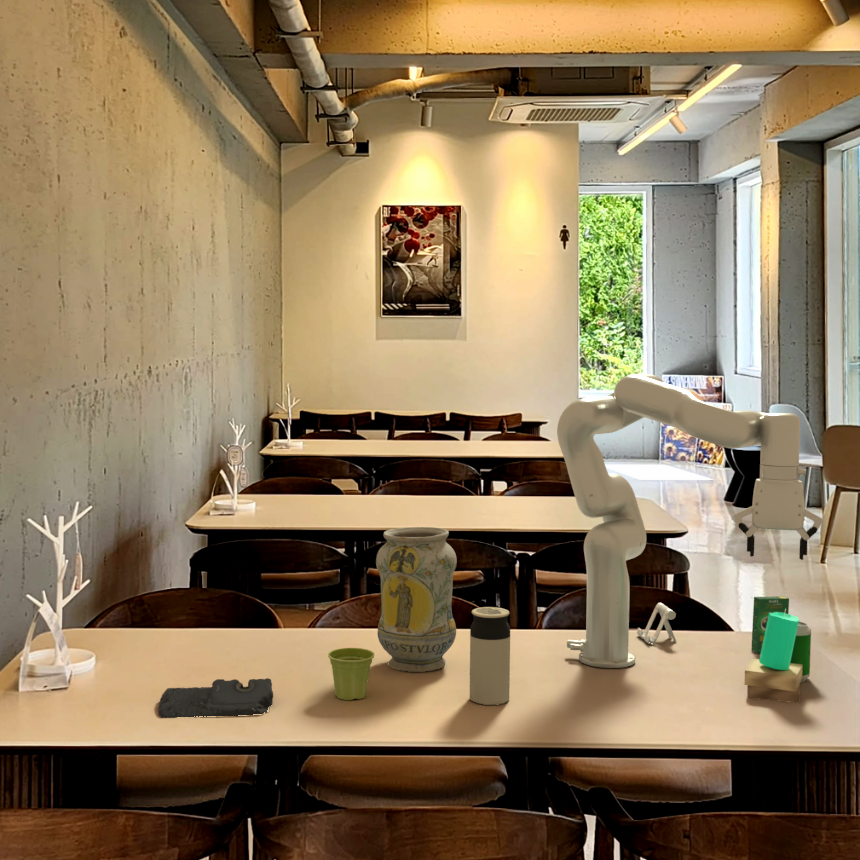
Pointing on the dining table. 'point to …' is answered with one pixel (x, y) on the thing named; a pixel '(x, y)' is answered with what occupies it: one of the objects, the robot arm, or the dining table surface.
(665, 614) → the portable electronic device stand
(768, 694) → the tan flat block
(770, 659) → the candle
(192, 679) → the dining table surface
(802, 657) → the soda can
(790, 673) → the oak block
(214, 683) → the dark slate chunk
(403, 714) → the dining table surface
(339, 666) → the plant pot
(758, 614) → the coffee box
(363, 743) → the dining table surface
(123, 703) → the dining table surface
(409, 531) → the vase
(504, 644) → the travel mug
